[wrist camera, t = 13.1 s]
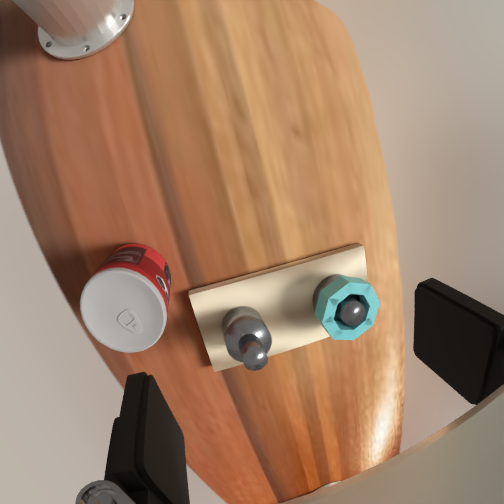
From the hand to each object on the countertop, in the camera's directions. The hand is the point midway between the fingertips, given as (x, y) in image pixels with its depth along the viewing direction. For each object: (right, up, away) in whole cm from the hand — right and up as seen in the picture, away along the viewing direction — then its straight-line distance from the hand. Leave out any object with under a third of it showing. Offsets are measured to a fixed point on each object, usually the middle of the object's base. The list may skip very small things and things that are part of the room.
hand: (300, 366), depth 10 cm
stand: (-3, -5, +28) cm, 29 cm away
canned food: (-15, +1, +26) cm, 30 cm away
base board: (+3, -3, +30) cm, 31 cm away
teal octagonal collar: (+9, -3, +27) cm, 29 cm away
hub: (+9, -2, +30) cm, 31 cm away
